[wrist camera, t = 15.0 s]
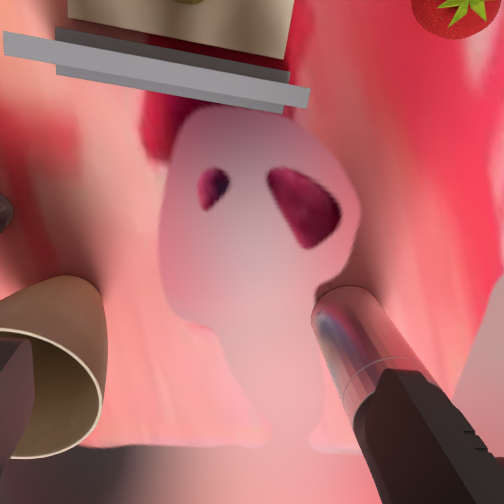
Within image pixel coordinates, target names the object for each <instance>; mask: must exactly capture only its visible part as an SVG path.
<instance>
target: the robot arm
mask: <svg viewBox="0 0 504 504" xmlns="http://www.w3.org/2000/svg"><path fill="white" fill-rule="evenodd" d="M311 325H312V328H313V330H314V333H315V336H316V338H317V341H318V343H319V346H320V349H321V351H322V354H323V356H324V359H325V361H326V364H327V366H328V369H329V371H330V374H331V376H332V379H333V382H334V384H335V387H336V389H337V392H338V394H339V397H340V399H341V402H342V404H343V407H344V409H345V411H346V414H347V416H348V419H349V421H350V424H351V426H352V429H353V431H354V434H355V436H356V439H357V441H358V444H359V446H360V448H361V450H362V453H363V455H364V457H365V460H366V462H367V464H368V467H369V469H370V472H371V474H372V477H373V479H374V482H375V484H376V487H377V490H378V493H379V496H380V498H381V501H382V503H383V504H504V458H503V457H494V456H493V455H492V453H489V452H488V448H487V447H486V445H485V444H484V442H483V441H482V440H481V438H480V437H479V436H478V435H475V430H474V429H473V428H472V426H471V425H470V424H469V422H468V421H467V420H466V418H465V417H464V415H463V414H462V413H461V412H460V411H459V410H458V409H457V408H456V407H455V406H454V405H453V404H452V403H451V401H450V400H449V398H448V397H447V396H446V394H445V393H444V392H443V391H442V389H441V388H440V386H439V385H438V384H437V382H436V381H435V380H434V378H433V377H432V376H431V374H430V373H429V371H428V370H427V369H426V368H425V366H424V365H423V363H422V362H421V361H420V359H419V358H418V357H417V355H416V354H415V352H414V351H413V350H412V348H411V347H410V346H409V344H408V343H407V341H406V340H405V339H404V337H403V336H402V335H401V333H400V332H399V331H398V329H397V328H396V326H395V325H394V324H393V322H392V321H391V320H390V318H389V317H388V315H387V314H386V312H385V311H384V310H383V308H382V307H381V306H380V304H379V303H378V302H377V300H376V299H375V297H374V296H373V295H372V294H371V293H370V292H368V291H367V290H365V289H363V288H360V287H356V286H343V287H339V288H336V289H334V290H332V291H329V292H328V293H326V294H325V295H324V296H322V297H321V299H320V300H319V301H318V302H317V303H316V305H315V306H314V309H313V311H312V315H311ZM34 400H35V389H34V373H33V357H32V346H31V342H30V341H29V340H28V339H16V338H3V337H0V477H1V475H2V473H3V471H4V469H5V467H6V465H7V463H8V461H9V460H10V458H11V456H12V454H13V452H14V450H15V448H16V446H17V444H18V443H19V441H20V439H21V437H22V435H23V433H24V431H25V429H26V427H27V425H28V423H29V421H30V418H31V415H32V411H33V407H34Z"/></svg>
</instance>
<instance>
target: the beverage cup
mask: <svg viewBox="0 0 504 504" xmlns="http://www.w3.org/2000/svg"><path fill="white" fill-rule="evenodd" d="M12 219H13V208H12V205H11V203H10V202H9V201H8V199H7V198H6V197H5V196H3V195H2V194H1V193H0V234H1V233H2V232H3V231H4V230H5V229H6V228H7V226H8V225H9V224H10V223H11V221H12Z"/></svg>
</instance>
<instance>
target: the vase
mask: <svg viewBox="0 0 504 504" xmlns="http://www.w3.org/2000/svg"><path fill="white" fill-rule="evenodd" d="M175 1H176V2H179V3H182V4H191V5H192V4H197V3H200V2H202V1H204V0H175Z"/></svg>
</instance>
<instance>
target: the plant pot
mask: <svg viewBox="0 0 504 504" xmlns="http://www.w3.org/2000/svg"><path fill="white" fill-rule="evenodd" d="M0 337H3V338H16V339H28V340H29V341H30V342H31V346H32V357H33V373H34V389H35V400H34V407H33V411H32V415H31V418H30V421H29V423H28V425H27V427H26V429H25V431H24V433H23V435H22V437H21V439H20V441H19V443H18V444H17V446H16V448H15V450H14V452H13V454H12V456H11V458H13V459H32V458H42V457H47V456H51V455H55V454H58V453H60V452H63V451H66V450H68V449H70V448H72V447H74V446H76V445H77V444H79V443H80V442H81V441H83V440H84V439H85V438H86V437H87V436H88V435H89V434H90V433H91V432H92V431H93V430H94V428H95V427H96V425H97V423H98V421H99V419H100V416H101V412H102V405H103V398H104V390H105V382H106V373H107V358H108V339H107V325H106V318H105V312H104V307H103V303H102V299H101V296H100V294H99V292H98V291H97V289H96V288H95V287H94V286H93V285H92V284H91V283H89V282H88V281H86V280H84V279H82V278H80V277H76V276H71V275H61V276H56V277H53V278H50V279H47V280H44V281H41V282H38V283H36V284H33V285H31V286H29V287H26V288H24V289H22V290H20V291H18V292H16V293H14V294H12V295H10V296H8V297H6V298H4V299H2V300H0Z"/></svg>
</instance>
